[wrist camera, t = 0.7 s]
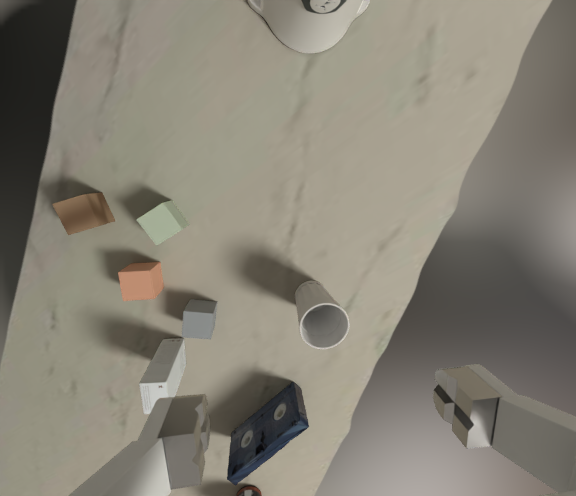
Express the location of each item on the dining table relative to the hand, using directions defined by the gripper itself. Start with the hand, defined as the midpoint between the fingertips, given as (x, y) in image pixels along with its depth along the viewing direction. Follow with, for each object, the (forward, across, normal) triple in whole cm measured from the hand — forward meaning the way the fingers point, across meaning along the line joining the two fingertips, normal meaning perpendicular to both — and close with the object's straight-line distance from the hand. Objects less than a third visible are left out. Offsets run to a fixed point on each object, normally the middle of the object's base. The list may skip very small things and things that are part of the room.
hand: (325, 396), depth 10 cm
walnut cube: (+43, +30, -4) cm, 52 cm away
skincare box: (+43, +20, +24) cm, 54 cm away
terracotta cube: (+43, +23, +8) cm, 49 cm away
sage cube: (+43, +18, -2) cm, 46 cm away
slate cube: (+43, +14, +16) cm, 48 cm away
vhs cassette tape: (+44, +3, +41) cm, 60 cm away
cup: (+43, -7, +15) cm, 46 cm away
